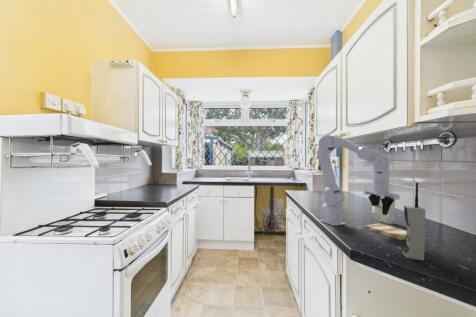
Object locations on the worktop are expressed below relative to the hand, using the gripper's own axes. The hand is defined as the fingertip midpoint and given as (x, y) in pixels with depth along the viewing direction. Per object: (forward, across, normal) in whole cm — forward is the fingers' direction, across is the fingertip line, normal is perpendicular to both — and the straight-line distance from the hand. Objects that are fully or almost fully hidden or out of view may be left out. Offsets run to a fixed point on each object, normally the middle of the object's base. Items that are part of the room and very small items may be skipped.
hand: (380, 213), depth 102 cm
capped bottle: (+2, 0, 0) cm, 2 cm away
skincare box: (+9, -12, +21) cm, 26 cm away
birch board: (+9, 0, +5) cm, 10 cm away
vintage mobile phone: (+9, +20, -13) cm, 26 cm away
